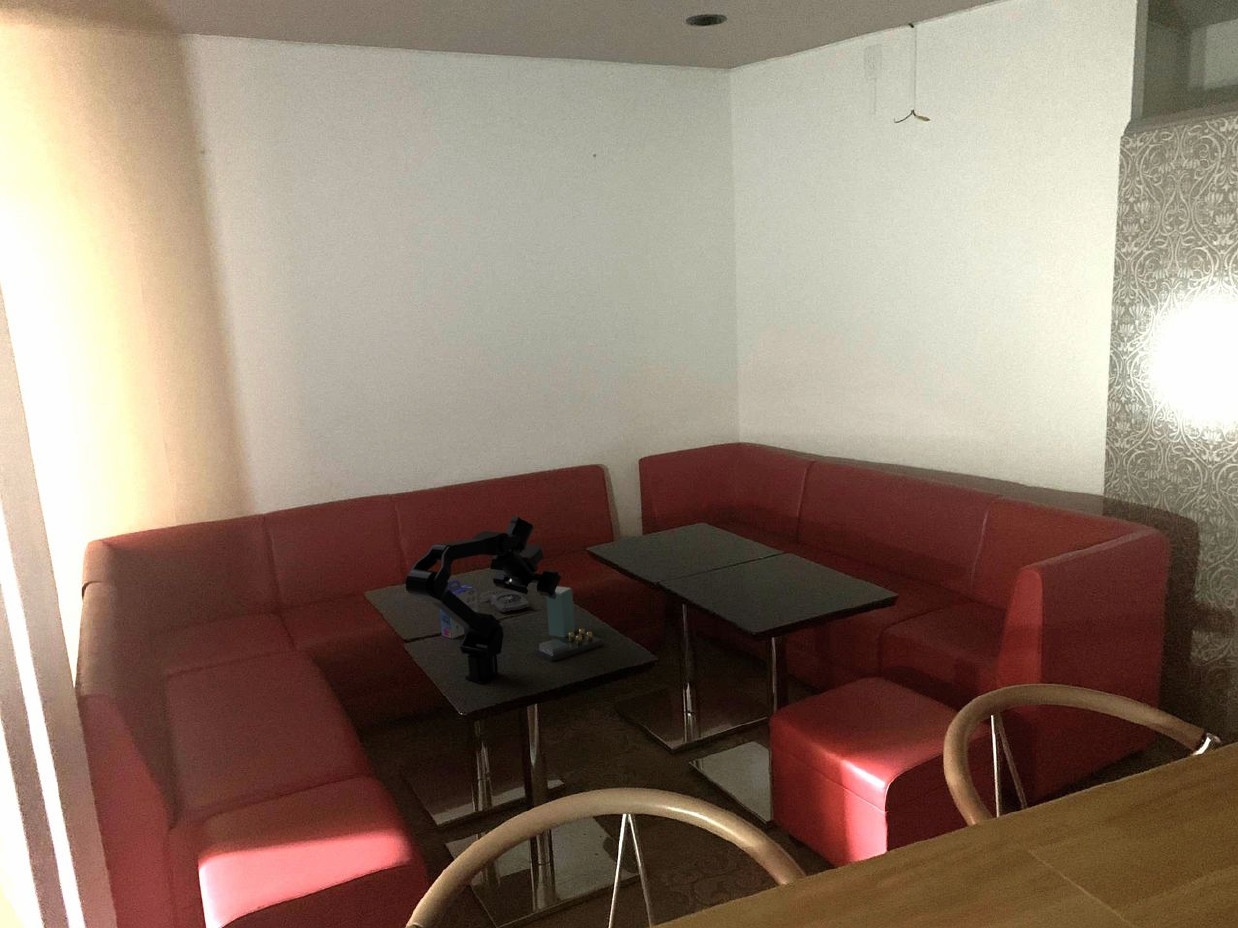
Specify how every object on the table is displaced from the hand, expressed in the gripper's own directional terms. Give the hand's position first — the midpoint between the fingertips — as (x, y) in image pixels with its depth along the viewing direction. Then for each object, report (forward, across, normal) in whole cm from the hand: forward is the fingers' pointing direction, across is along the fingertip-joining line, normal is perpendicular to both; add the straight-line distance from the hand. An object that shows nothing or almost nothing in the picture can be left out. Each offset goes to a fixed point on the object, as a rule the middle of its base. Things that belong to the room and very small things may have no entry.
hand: (541, 595), depth 249 cm
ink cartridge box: (+8, +27, +12) cm, 30 cm away
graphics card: (+25, +30, -5) cm, 39 cm away
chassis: (+9, -9, +10) cm, 16 cm away
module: (+15, 0, +3) cm, 16 cm away
